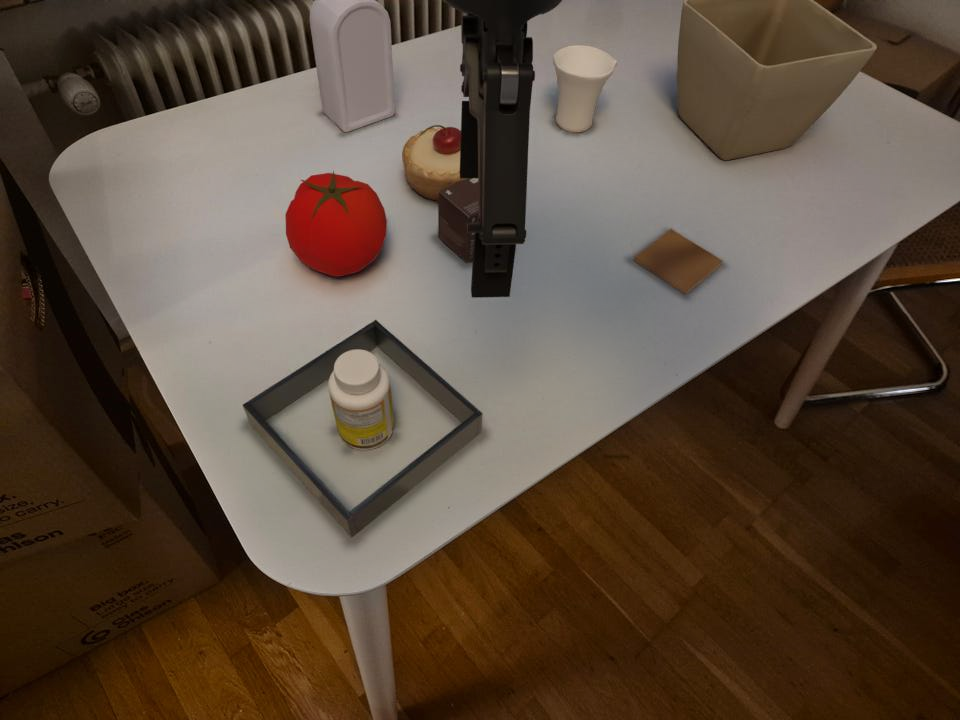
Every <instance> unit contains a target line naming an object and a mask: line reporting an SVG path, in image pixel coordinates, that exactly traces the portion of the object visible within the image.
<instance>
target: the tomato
mask: <svg viewBox="0 0 960 720" xmlns="http://www.w3.org/2000/svg"><path fill="white" fill-rule="evenodd" d="M300 182H301V183H300V184H299V185H298V187H297V188H296V190H295V192H294V198H293V199H292V200H291V201H290V202H289V205H288V207H287V209H286V211H285V236H286V239H287V242H288V243H287V244H288V245H289V248H290V250H291V251H292V252H293V253H294V254H295V257H297V258H298V260H300V261H301V262H302V263H304V264H305V265H306V266H307V267H309V268H311V269H313V270H314V271H317V272H319V273H322V274H326V275H328V276H331V277H344V276H348V275H351V274H354V273H358V272H360V271H362V270H363V269H364V268H366V267H367V266H368V265H370V264H371V263H372V262H373V261H374V260H375V259H376V258H377V256H379V253H380V252H381V250H382V248H383V245H384V242H385V239H386V237H387V229H388V225H387V224H388V220H387V215H386V209H385V207H384V205H383V203H382V202H381V199H380V197H379V196H378V193H377V191H375V190H374V189H373V188H372V187H371V185H370V184H368V183H367V182H364V181H363V182H362V181H360V180H354V179H353V178H351V177H350V176H348V175H343V174H338V173H335V170H332V172H325V173H319V174H312V175H310V176H309V177H308V178H306V179H305V180H304V179H300Z"/></svg>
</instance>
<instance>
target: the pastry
mask: <svg viewBox="0 0 960 720" xmlns="http://www.w3.org/2000/svg"><path fill="white" fill-rule="evenodd" d="M460 144H461V129H459V128H458V127H454V126H444V125H441V124H434V125H430V126H429V127H427V128H426V129H424V130H420V131H419V132H418V133H417V134H415V135H411V136H410V137H409V139H407V141H406V142H405V143H404V145H403V148H402V153H401V159H402V164H403V169H404V173H405V176H406V178H407V181H408V183H409V185H410V186H411V188H412V189H413V190H414V191H415V192H417V193H418V194H419V195H420V196H421V197H424V198H426V199H429V200H432V201H438V198H439V191H440V190H442V189H444V188H447V187H449V186H451V185H453V184H454V183H456V182H458V181H462V180H465V179H467V178H460Z"/></svg>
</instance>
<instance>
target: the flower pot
mask: <svg viewBox="0 0 960 720" xmlns="http://www.w3.org/2000/svg"><path fill="white" fill-rule="evenodd" d="M877 49H878V45H877V44H876V43H875V42H873V41H872V40H870V39H869V38H867V36H865V35H863V34H862V33H860V32H859V31H858V30H856V29H855V28H853V27H852V26H850V25H849V24H848V23H846V22H845V21H844V20H842V19H841V18H839V17H838V16H836V15H835V14H834V13H832V12H831V11H829V10H828V9H826V8H825V7H824V6H822V5H821V4H820V3H818V2H817V1H815V0H682V8H681V12H680V23H679V31H678V44H677V59H676V60H677V61H676V62H677V65H676V66H677V68H676V69H677V70H676V83H677V85H676V86H677V89H676V90H677V103H678V105H677V106H678V111H679V112H678V113H679V118H680V119H682V121H683V122H684V123H685V124H686V125H687V126H688V127H689V128H690V129H691V130H692V131H693V132H694V133H695V134H696V135H697V136H698V137H699V138H700V140H702V142H704V144H706V146H707V147H709V149H710V150H711V151H712V152H713V154H715V155H716V156H717V157H718V158H719V159H720V160H723V161H731V160H735V159H740V158H745V157H746V158H747V157H749V156H754V155H759V154H765V153H770V152H773V151H778V150H783V149H787V148H789V147H791V146H792V145H793V144H794V143H796V142H797V141H798V140H799V139H800V138H801V137H802V136H803V135H804V134H805V133H806V132H807V131H808V130H809V129H811V127H813V125H814V124H815V123H816V122H817V121H818V120H819V119H820V118H821V117H822V116H823V115H824V114H825V113H826V111H827V110H829V109H830V107H831V106H832V105H833V104H834V103H835V102H836V101H837V99H838V98H839V97H840V96H841V95H842V94H843V93H844V91H846V89H847V88H848V87H849V86H850V85H851V83H852V82H853V81H854V80H855V78H856V77H857V76H858V75H859V73H860V72H861V71H862V69H864V67H865V66H866V64H867V63H868V61H869V60H870V58H871V57H872V56H873V55H874V53H875V52H876V50H877Z"/></svg>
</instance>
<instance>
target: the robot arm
mask: <svg viewBox="0 0 960 720" xmlns="http://www.w3.org/2000/svg"><path fill="white" fill-rule="evenodd" d="M442 1H443V3H445V4H447V5H448V6H450V7H451V8H453V9H454V10H457V11H459V12H461V13H464V14H465V15H461V19H460V34H461V35H460V36H461V38H460V40H461V44H462V54H461V55H462V56H461V64H459V71H460V72H461V77H463V79H462V80H463V81H462V84H461V86H460V87H461V93H462V96H463V98H468V100H461V114H460V115H461V117H460V121H461V122H460V131H461V144H460V178H478V199H479V217H478V218H475V223H467V233H474V245H473V260H472V261H471V262H472V264H471V282H470V284H471V285H470V295H471V296H470V297H471V298H472V299H475V298H510V297H511V290H512V282H513V281H512V280H513V274H514V266H515V259H516V251H517V245H524V244H525V242H526V238H527V229H526V216H527V215H526V214H527V195H528V193H527V192H528V169H529V168H528V166H529V143H530V142H529V141H530V118H531V117H530V116H531V102H532V93H533V84H534V83H533V82H535V80H536V70H534V65H533V61H534V40H533V36H527V35H528V22H529V21H530V20H532V19H533V18H535V17H538V16H540V15H542V16H543V15H545V14H547V13H549V12H551V11H552V10H554V9H556V8H557V7H558V6H559V5H560V4H561V3H562V2H563V0H442Z"/></svg>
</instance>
